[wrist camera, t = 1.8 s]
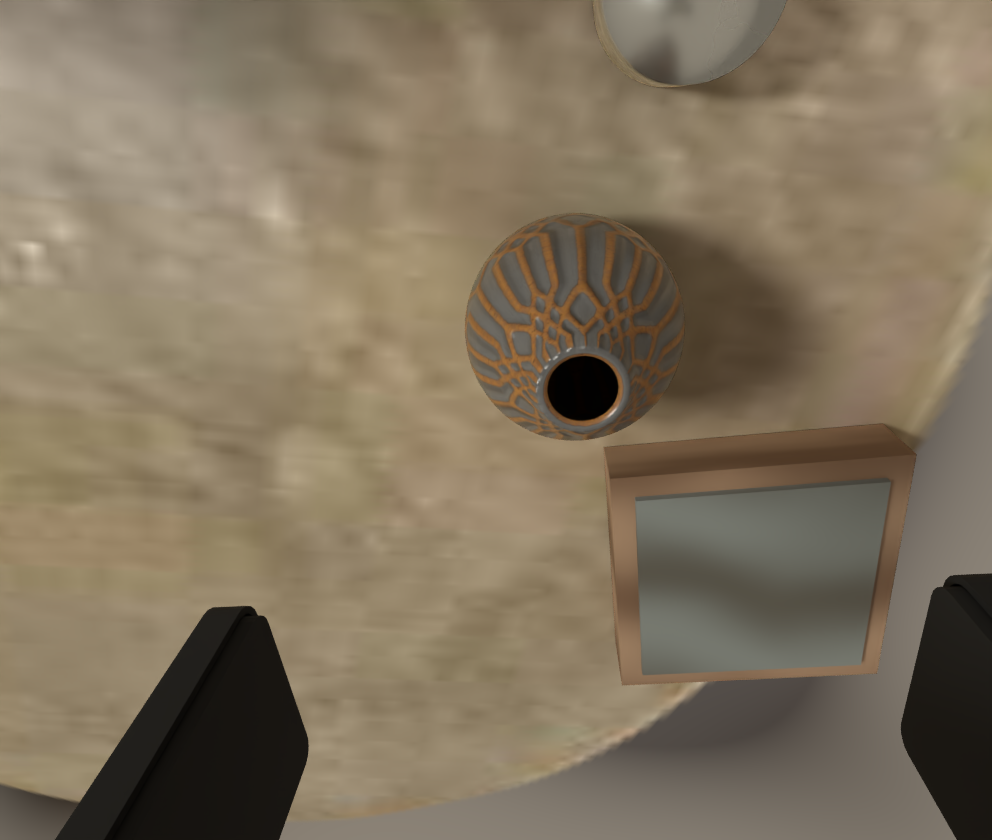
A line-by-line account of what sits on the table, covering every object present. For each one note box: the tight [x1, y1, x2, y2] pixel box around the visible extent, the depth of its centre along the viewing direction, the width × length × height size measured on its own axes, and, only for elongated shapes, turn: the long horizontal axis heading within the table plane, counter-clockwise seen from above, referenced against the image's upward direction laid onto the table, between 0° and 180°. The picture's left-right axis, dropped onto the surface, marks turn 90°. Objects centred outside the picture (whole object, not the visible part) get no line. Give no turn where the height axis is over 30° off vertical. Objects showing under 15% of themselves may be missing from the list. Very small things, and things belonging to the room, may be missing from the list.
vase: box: [465, 213, 685, 441], centre depth 20 cm, size 7×7×9 cm
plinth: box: [604, 424, 917, 685], centre depth 27 cm, size 11×11×3 cm
